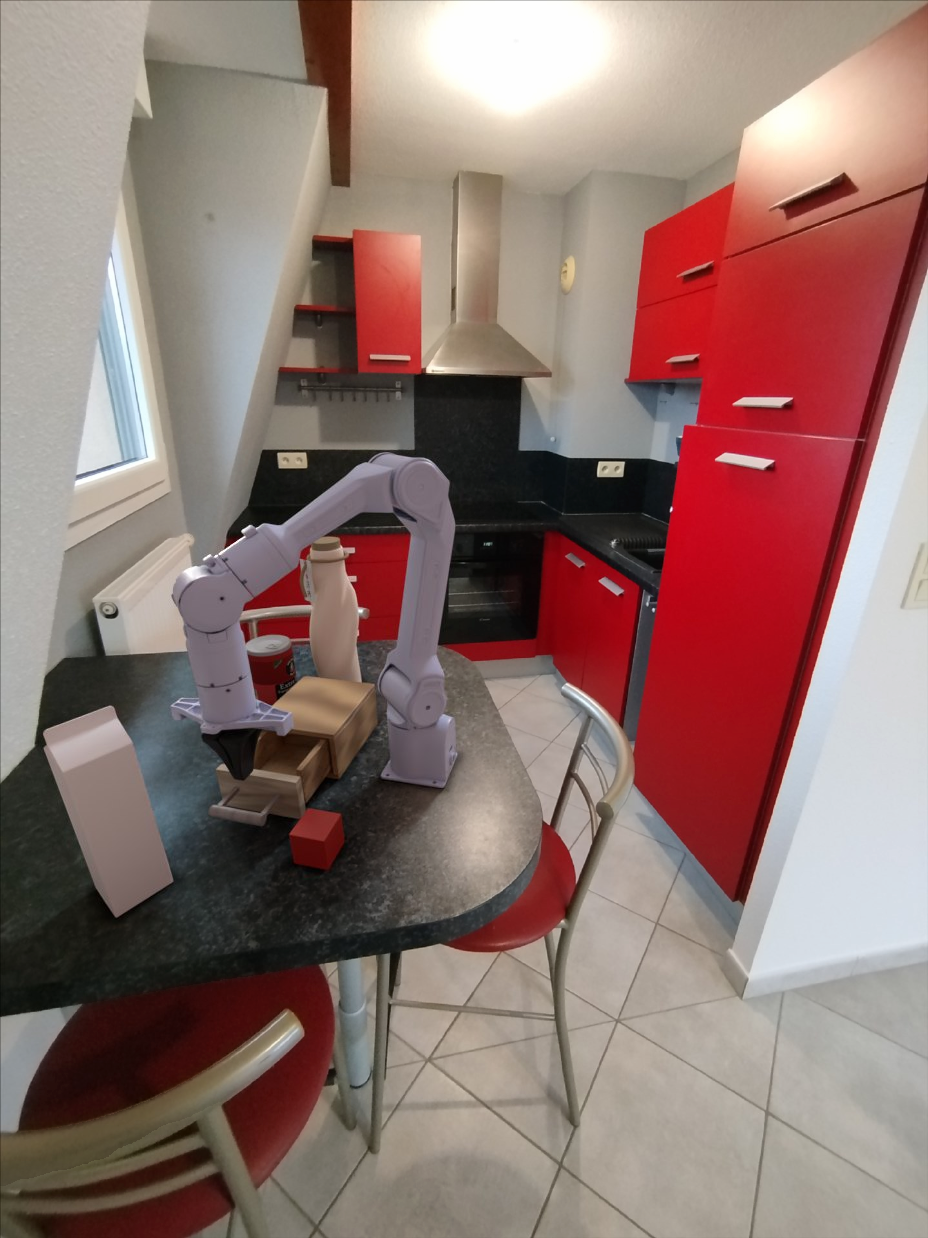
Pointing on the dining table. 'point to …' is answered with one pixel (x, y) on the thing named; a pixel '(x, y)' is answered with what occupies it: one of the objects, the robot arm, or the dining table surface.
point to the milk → (108, 807)
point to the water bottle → (331, 611)
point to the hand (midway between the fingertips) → (243, 774)
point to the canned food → (271, 667)
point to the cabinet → (333, 715)
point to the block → (317, 838)
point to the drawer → (275, 779)
